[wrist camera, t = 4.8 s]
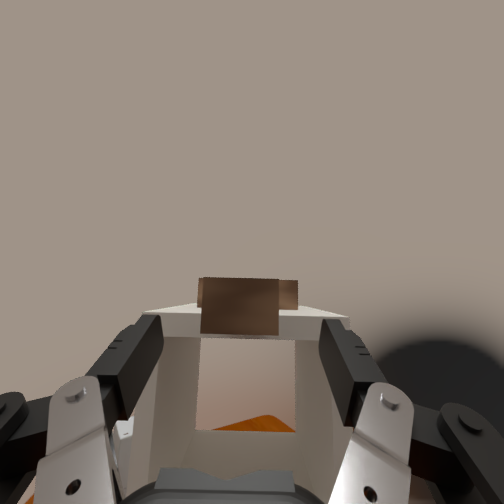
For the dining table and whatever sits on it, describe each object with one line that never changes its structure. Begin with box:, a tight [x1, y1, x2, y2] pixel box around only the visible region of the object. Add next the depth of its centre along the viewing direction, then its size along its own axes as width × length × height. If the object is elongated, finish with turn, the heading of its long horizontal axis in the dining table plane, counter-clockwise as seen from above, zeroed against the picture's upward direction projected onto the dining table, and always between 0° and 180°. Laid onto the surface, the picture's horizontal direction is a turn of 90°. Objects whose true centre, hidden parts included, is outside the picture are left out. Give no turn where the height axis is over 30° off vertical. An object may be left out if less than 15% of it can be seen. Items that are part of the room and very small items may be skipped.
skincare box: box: [113, 416, 134, 498], centre depth 36 cm, size 6×4×12 cm
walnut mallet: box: [197, 277, 298, 336], centre depth 24 cm, size 12×28×4 cm, turn 0°
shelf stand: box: [126, 303, 353, 504], centre depth 26 cm, size 18×18×31 cm
